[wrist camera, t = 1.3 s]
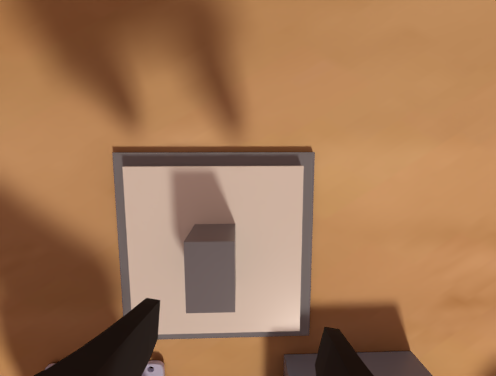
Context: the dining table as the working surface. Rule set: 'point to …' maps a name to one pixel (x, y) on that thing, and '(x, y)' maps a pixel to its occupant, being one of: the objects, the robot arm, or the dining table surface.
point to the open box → (379, 363)
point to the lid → (216, 246)
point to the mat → (222, 160)
